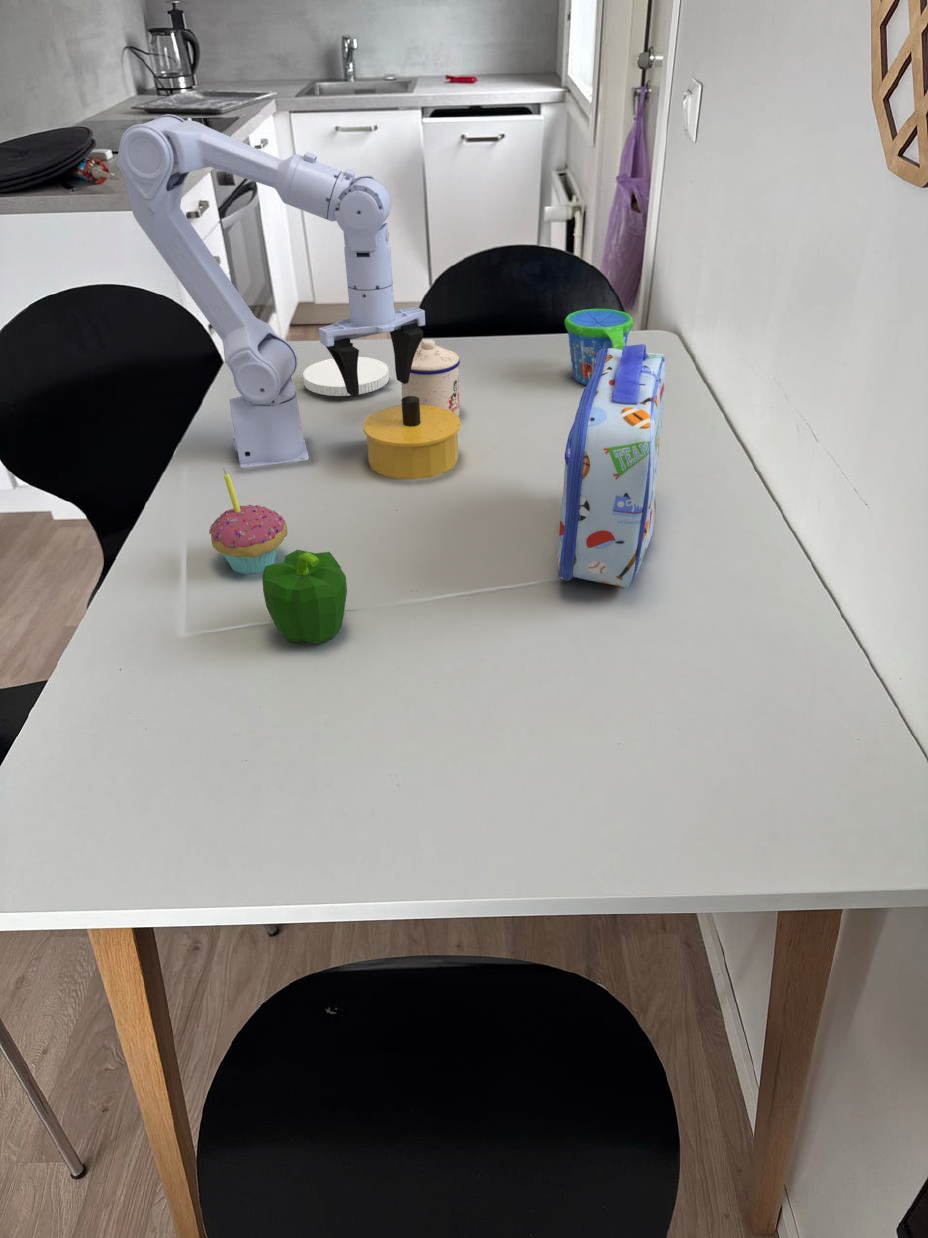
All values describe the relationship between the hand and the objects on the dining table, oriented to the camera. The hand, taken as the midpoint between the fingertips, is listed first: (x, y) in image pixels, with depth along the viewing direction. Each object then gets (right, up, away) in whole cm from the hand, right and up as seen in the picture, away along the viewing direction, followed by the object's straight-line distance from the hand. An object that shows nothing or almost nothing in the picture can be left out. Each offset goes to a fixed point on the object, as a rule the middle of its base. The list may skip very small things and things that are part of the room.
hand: (378, 387), depth 127 cm
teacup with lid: (+6, +1, +19) cm, 20 cm away
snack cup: (+33, +8, +29) cm, 45 cm away
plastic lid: (-8, +7, +29) cm, 31 cm away
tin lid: (+4, -5, +1) cm, 7 cm away
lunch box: (+29, -22, -15) cm, 39 cm away
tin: (+5, -9, +4) cm, 11 cm away
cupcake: (-13, -25, -17) cm, 33 cm away
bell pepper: (-4, -33, -29) cm, 44 cm away
